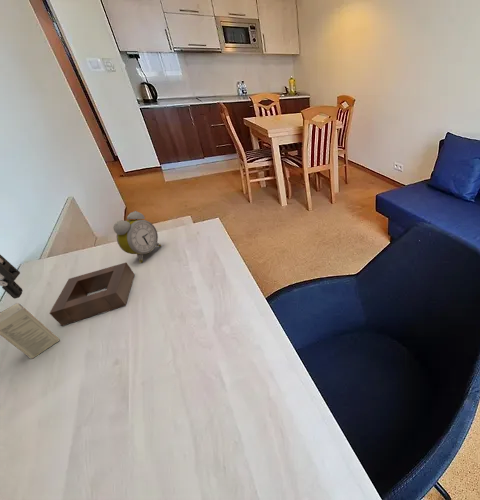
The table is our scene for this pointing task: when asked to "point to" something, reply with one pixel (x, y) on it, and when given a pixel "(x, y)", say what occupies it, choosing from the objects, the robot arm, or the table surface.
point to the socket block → (82, 306)
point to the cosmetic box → (25, 331)
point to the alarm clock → (136, 235)
